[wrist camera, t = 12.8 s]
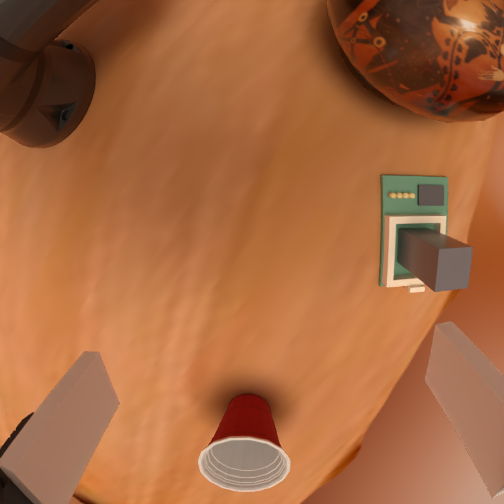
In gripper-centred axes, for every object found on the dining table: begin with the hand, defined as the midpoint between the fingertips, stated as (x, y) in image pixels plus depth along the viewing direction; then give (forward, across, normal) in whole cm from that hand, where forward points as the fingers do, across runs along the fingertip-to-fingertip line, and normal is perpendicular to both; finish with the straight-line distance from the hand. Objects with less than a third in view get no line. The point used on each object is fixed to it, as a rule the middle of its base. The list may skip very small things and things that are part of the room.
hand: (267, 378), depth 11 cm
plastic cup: (+25, -4, -25) cm, 36 cm away
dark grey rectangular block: (+25, +17, -3) cm, 30 cm away
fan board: (+25, +18, -2) cm, 31 cm away
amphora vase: (+26, +19, +21) cm, 38 cm away
